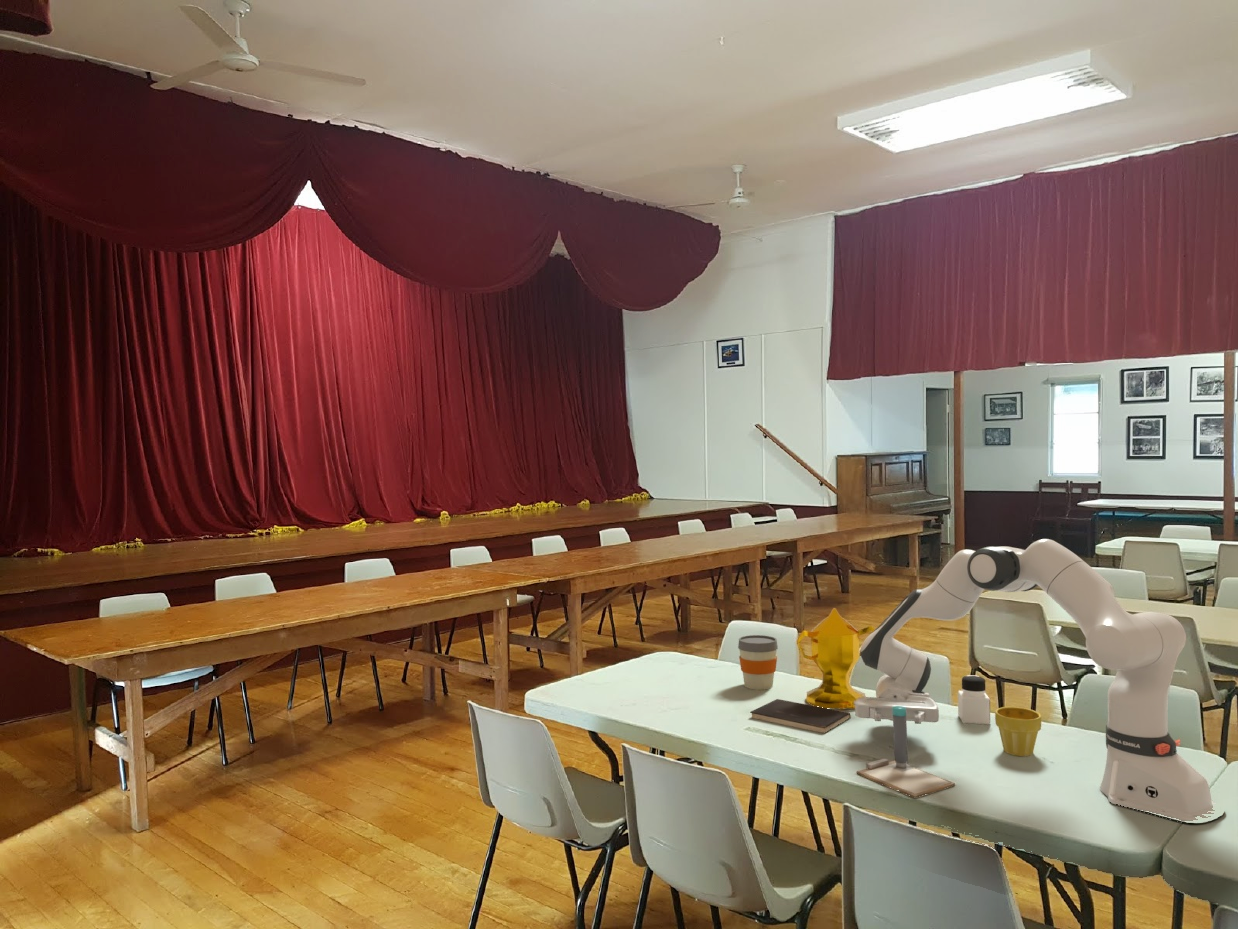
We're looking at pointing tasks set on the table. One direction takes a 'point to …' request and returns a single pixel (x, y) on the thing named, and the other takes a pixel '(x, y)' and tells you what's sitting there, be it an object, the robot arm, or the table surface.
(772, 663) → the reusable coffee cup
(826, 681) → the trophy cup
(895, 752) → the marker
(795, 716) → the hardcover book
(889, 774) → the clipboard
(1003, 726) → the plant pot
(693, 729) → the table surface
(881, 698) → the robot arm
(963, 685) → the medicine bottle
